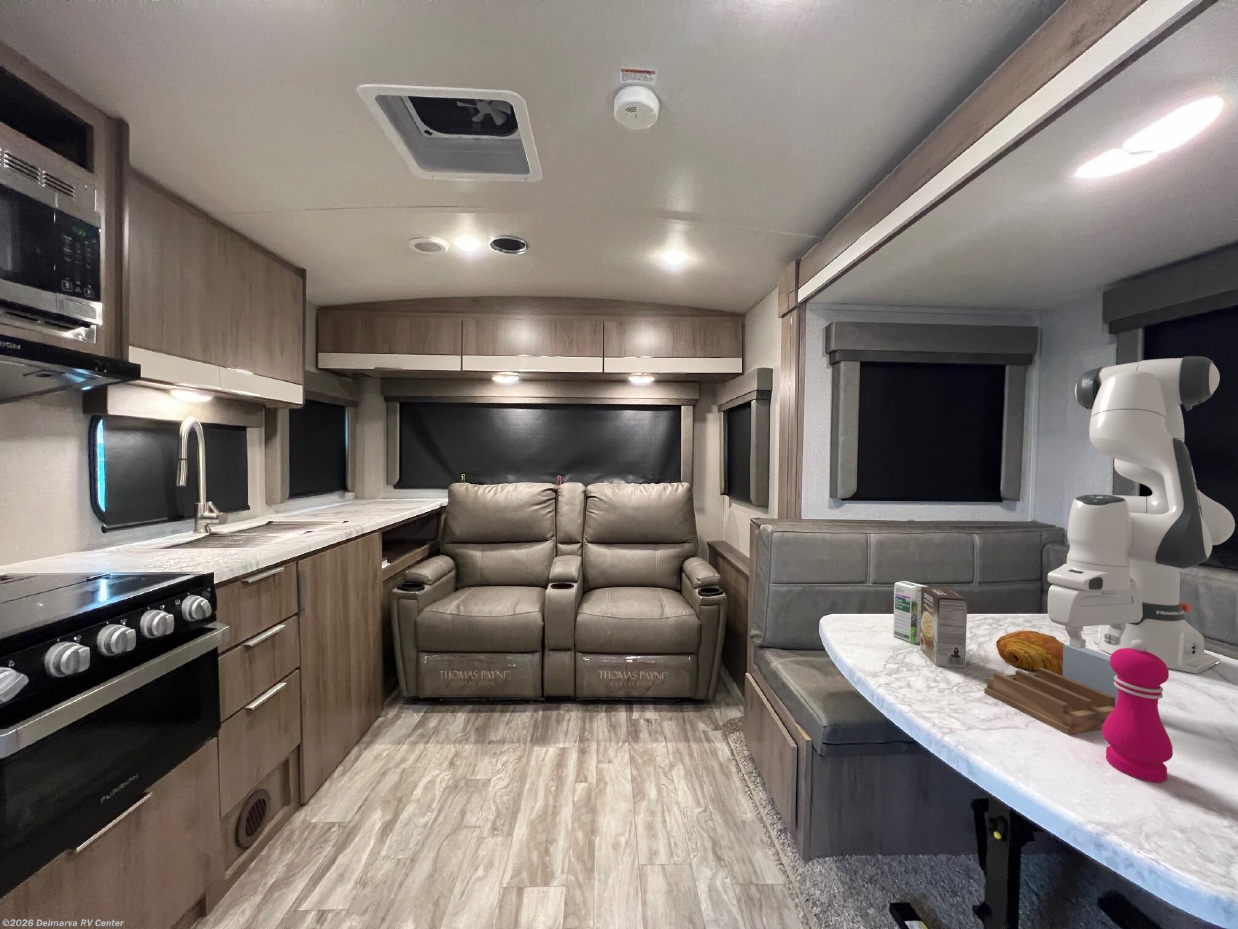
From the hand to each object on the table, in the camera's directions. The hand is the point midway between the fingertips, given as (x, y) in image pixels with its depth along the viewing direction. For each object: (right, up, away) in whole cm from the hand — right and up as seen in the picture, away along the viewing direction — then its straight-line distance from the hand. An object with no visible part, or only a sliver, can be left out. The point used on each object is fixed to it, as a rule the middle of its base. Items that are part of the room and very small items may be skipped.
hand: (1095, 645), depth 91 cm
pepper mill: (-15, -11, -21) cm, 28 cm away
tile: (0, -11, 0) cm, 11 cm away
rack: (-12, -11, -4) cm, 16 cm away
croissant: (+3, -11, +16) cm, 19 cm away
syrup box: (-18, -10, +30) cm, 36 cm away
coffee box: (-18, -10, +18) cm, 27 cm away
